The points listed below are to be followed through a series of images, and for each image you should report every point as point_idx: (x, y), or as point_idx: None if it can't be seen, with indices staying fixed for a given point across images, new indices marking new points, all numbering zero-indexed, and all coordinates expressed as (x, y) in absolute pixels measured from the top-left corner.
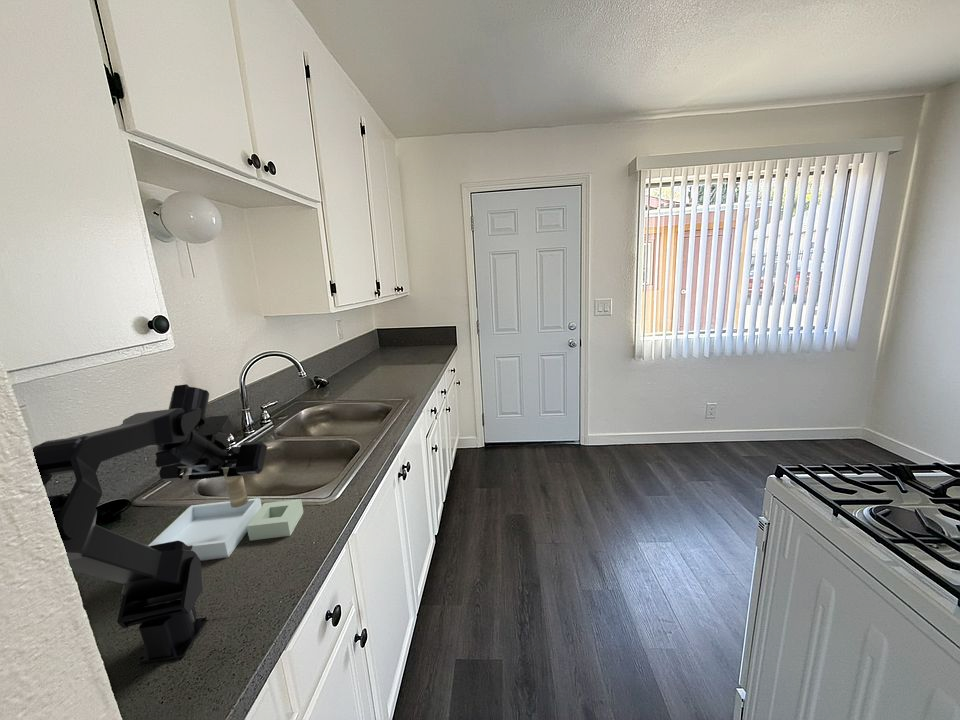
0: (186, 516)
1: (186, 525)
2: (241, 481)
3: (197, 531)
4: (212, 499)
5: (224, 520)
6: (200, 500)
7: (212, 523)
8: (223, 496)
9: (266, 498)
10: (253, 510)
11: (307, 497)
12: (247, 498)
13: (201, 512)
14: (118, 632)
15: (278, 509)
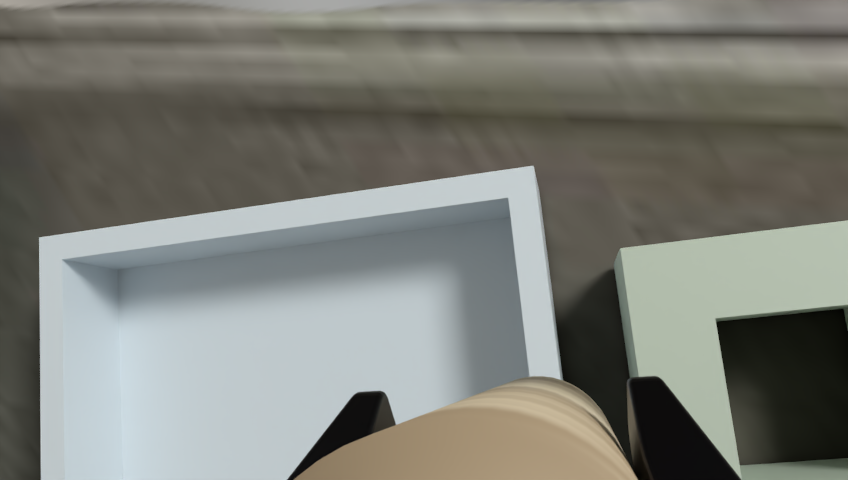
0: (78, 338)
1: (115, 360)
2: None
3: (222, 422)
4: (94, 41)
5: (334, 314)
6: (25, 51)
7: (271, 343)
8: (146, 8)
9: (470, 34)
10: (551, 301)
11: (812, 25)
12: (602, 412)
13: (139, 259)
14: None
15: (783, 312)
